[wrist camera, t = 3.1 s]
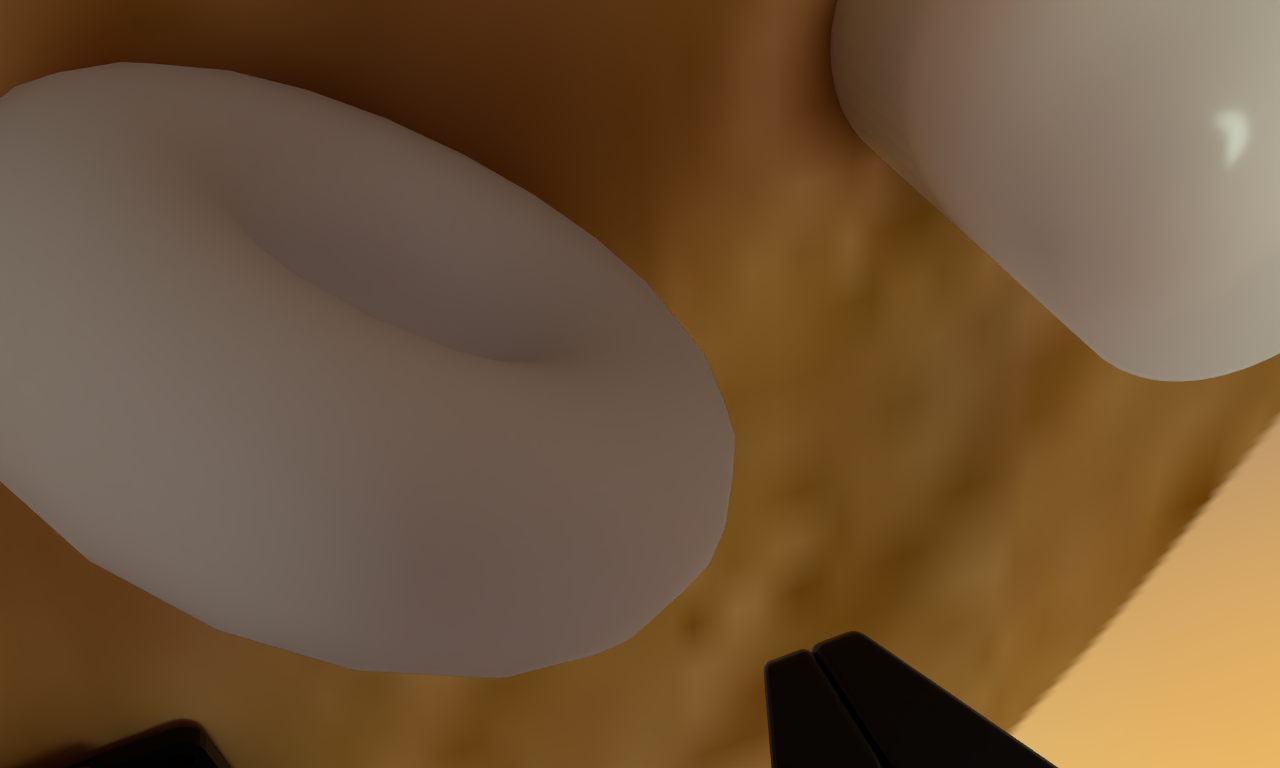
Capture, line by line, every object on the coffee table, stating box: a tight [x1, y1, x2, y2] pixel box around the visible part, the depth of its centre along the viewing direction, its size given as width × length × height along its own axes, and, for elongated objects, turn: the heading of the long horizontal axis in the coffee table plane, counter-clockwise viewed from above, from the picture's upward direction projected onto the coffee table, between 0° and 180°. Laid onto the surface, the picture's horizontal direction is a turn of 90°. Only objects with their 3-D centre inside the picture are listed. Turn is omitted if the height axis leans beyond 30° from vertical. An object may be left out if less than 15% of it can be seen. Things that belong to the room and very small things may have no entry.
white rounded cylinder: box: [830, 0, 1280, 382], centre depth 18 cm, size 6×6×7 cm
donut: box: [0, 62, 735, 678], centre depth 15 cm, size 10×3×10 cm, turn 60°
